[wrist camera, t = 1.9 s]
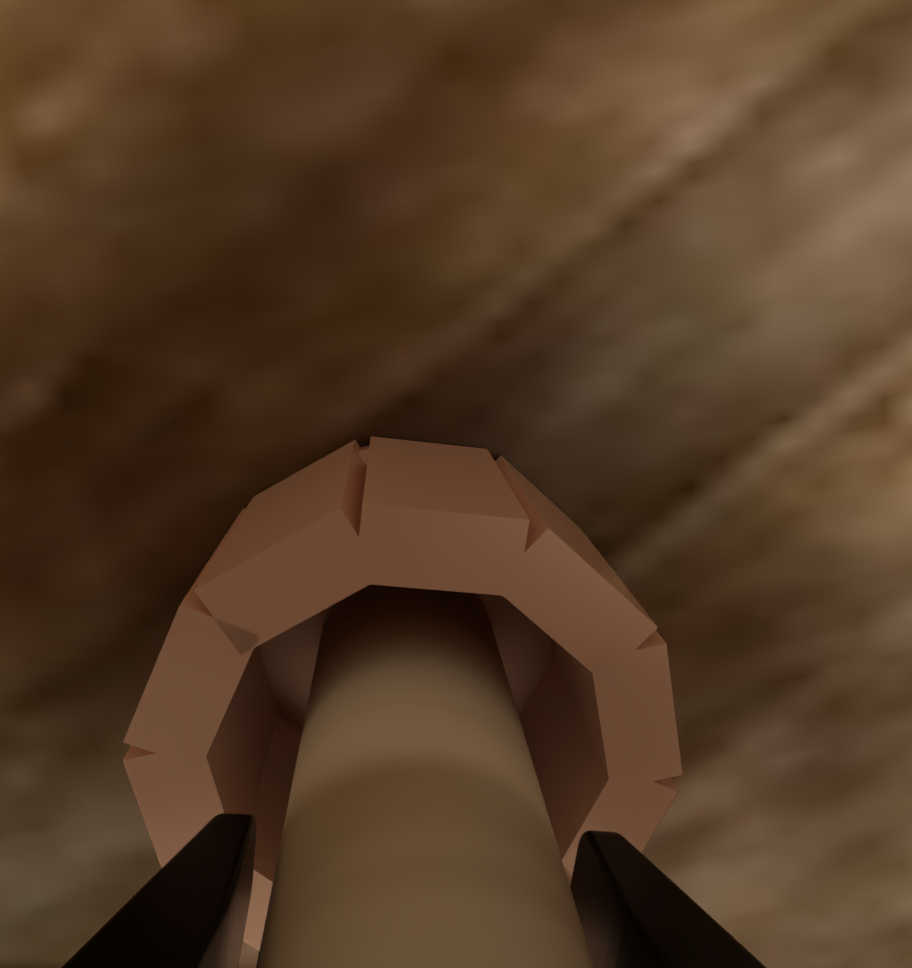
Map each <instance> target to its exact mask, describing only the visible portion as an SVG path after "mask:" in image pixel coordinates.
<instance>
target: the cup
mask: <svg viewBox="0 0 912 968" xmlns="http://www.w3.org/2000/svg"><path fill="white" fill-rule="evenodd" d="M370 584H372V585H384V586H395V587H407V588H419V589H431V590H443V591H454V592H466V593H476V594H477V595H478V597H479V598H480V599H481V601H482V603H483V605H484V607H485V608H486V611H487V613H488V616H489V619H490V622H491V625H492V629H493V632H494V635H495V639H496V642H497V645H498V649H499V652H500V655H501V659H502V662H503V665H504V669H505V672H506V675H507V679H508V682H509V685H510V689H511V692H512V695H513V699H514V702H515V705H516V709H517V712H518V715H519V719H520V722H521V725H522V729H523V732H524V735H525V739H526V742H527V745H528V749H529V752H530V755H531V759H532V762H533V765H534V769H535V772H536V775H537V779H538V782H539V785H540V789H541V792H542V795H543V799H544V802H545V805H546V809H547V812H548V815H549V819H550V822H551V825H552V829H553V832H554V835H555V839H556V842H557V845H558V849H559V852H560V855H561V859H562V862H563V865H564V869H565V872H566V875H567V879H568V882H569V885H570V884H571V879H572V874H573V869H574V864H575V859H576V854H577V849H578V844H579V840H580V838H581V836H582V834H583V833H584V832H586V831H589V830H590V831H611V832H617V833H619V834H621V835H622V836H623V837H625V838H626V839H627V840H628V841H629V842H630V843H631V844H632V845H633V846H634V847H636V848H637V849H638V850H639V851H640V852H641V853H642V851H643V850H644V848H645V846H646V845H647V843H648V841H649V840H650V838H651V836H652V835H653V833H654V831H655V830H656V828H657V826H658V825H659V823H660V822H661V820H662V818H663V817H664V815H665V813H666V812H667V810H668V808H669V807H670V805H671V803H672V802H673V800H674V798H675V797H676V795H677V793H678V792H679V791H678V789H677V788H676V786H675V784H674V782H673V781H672V779H671V777H675V776H680V775H683V774H682V766H681V758H680V750H679V741H678V733H677V725H676V717H675V709H674V701H673V692H672V684H671V676H670V668H669V660H668V651H667V644H666V642H665V641H664V640H663V638H662V637H661V636H660V635H659V633H658V632H657V631H656V629H657V628H658V627H657V625H656V624H655V623H654V622H653V620H652V619H651V618H650V616H649V615H648V614H647V613H646V611H645V610H644V609H643V608H642V606H641V605H640V604H639V602H638V601H637V600H636V599H635V597H634V596H633V595H632V594H631V592H630V591H629V590H628V588H627V587H626V586H625V585H624V583H623V582H622V581H621V580H620V578H619V577H618V576H617V574H616V573H615V572H614V571H613V569H612V568H611V567H610V565H609V564H608V563H607V562H606V560H605V559H604V558H603V557H602V555H601V554H600V553H599V551H598V550H597V549H596V548H595V546H594V545H593V544H592V543H591V541H590V540H589V539H588V537H587V536H586V535H585V534H584V532H583V531H582V530H581V529H580V528H579V527H578V526H577V525H576V524H575V523H574V522H573V521H572V520H571V519H570V518H569V517H568V516H566V515H565V514H564V513H563V512H562V511H561V510H560V509H559V508H558V507H557V506H556V505H555V504H553V503H552V502H551V501H550V500H549V499H548V498H547V497H546V496H545V495H544V494H543V493H542V492H540V491H539V490H538V489H537V488H536V487H535V486H534V485H533V484H532V483H531V482H530V481H529V480H527V479H526V478H525V477H524V476H523V475H522V474H521V473H520V472H519V471H518V470H517V469H515V468H514V467H513V466H512V465H511V464H510V463H509V462H508V461H507V460H506V459H505V458H504V457H502V456H501V455H500V456H499V457H498V458H497V459H496V461H494V459H493V458H492V456H491V454H490V453H489V451H488V449H484V448H475V447H465V446H456V445H447V444H437V443H428V442H419V441H410V440H400V439H391V438H382V437H372V436H371V438H370V445H368V446H363V447H360V446H359V444H358V443H357V441H356V439H355V440H353V441H352V442H350V443H348V444H346V445H345V446H343V447H341V448H339V449H337V450H336V451H334V452H332V453H330V454H329V455H327V456H325V457H323V458H321V459H320V460H318V461H316V462H314V463H313V464H311V465H309V466H307V467H305V468H304V469H302V470H300V471H298V472H296V473H295V474H293V475H291V476H289V477H288V478H286V479H284V480H282V481H280V482H279V483H277V484H275V485H273V486H272V487H270V488H268V489H266V490H264V491H263V492H261V493H259V494H257V495H255V496H254V497H253V498H252V500H251V501H250V503H249V504H248V506H247V507H246V508H243V509H242V511H241V512H240V514H239V515H238V517H237V518H236V520H235V521H234V523H233V524H232V526H231V527H230V529H229V530H228V532H227V534H226V535H225V537H224V538H223V540H222V541H221V543H220V544H219V546H218V547H217V549H216V550H215V552H214V553H213V555H212V556H211V558H210V560H209V561H208V563H207V564H206V566H205V567H204V569H203V570H202V572H201V573H200V575H199V576H198V578H197V579H196V581H195V582H194V584H193V585H192V587H191V589H190V590H189V592H188V593H187V595H186V596H185V598H184V599H183V601H182V602H181V604H180V605H179V608H178V610H177V613H176V615H175V618H174V620H173V622H172V625H171V627H170V630H169V632H168V634H167V637H166V639H165V642H164V644H163V647H162V649H161V651H160V654H159V656H158V659H157V661H156V663H155V666H154V668H153V671H152V673H151V676H150V678H149V680H148V683H147V685H146V688H145V690H144V692H143V695H142V697H141V700H140V702H139V705H138V707H137V709H136V712H135V714H134V717H133V719H132V722H131V724H130V726H129V729H128V731H127V734H126V736H125V738H124V741H123V743H126V744H129V745H131V746H130V748H129V750H128V752H127V754H126V755H125V757H124V759H123V764H124V766H125V769H126V772H127V775H128V777H129V780H130V783H131V786H132V788H133V791H134V794H135V797H136V799H137V802H138V805H139V808H140V810H141V813H142V816H143V819H144V821H145V824H146V827H147V830H148V832H149V835H150V838H151V841H152V843H153V846H154V849H155V852H156V855H157V857H158V860H159V863H160V866H161V868H163V867H164V866H165V865H166V864H167V863H168V862H169V861H170V860H171V859H172V858H173V857H174V856H175V855H176V854H177V853H178V852H179V851H180V850H181V849H182V848H183V847H184V846H185V845H186V844H187V843H188V842H189V841H190V840H191V839H192V838H193V837H194V836H195V835H196V834H197V833H198V832H199V831H200V830H201V829H202V828H203V827H204V826H205V825H206V824H207V823H208V822H209V821H210V820H211V819H212V818H213V817H214V816H216V815H218V814H221V813H230V814H250V815H253V816H254V817H255V819H256V842H255V856H254V870H253V883H252V891H251V898H250V904H249V909H248V915H247V920H246V926H245V931H244V937H243V942H244V943H246V944H247V945H249V946H251V947H252V948H254V949H255V950H257V951H260V946H261V941H262V936H263V931H264V925H265V920H266V915H267V910H268V905H269V900H270V895H271V890H272V884H273V879H274V874H275V869H276V864H277V859H278V854H279V848H280V843H281V838H282V833H283V828H284V823H285V818H286V813H287V807H288V802H289V797H290V792H291V787H292V782H293V777H294V771H295V766H296V761H297V756H298V751H299V746H300V741H301V736H302V730H303V725H304V720H305V715H306V710H307V705H308V700H309V695H310V689H311V684H312V679H313V674H314V669H315V664H316V659H317V653H318V648H319V643H320V638H321V633H322V628H323V624H324V621H325V618H326V615H327V613H328V611H329V609H330V607H331V606H332V605H333V604H335V603H337V602H339V601H341V600H343V599H344V598H346V597H348V596H350V595H352V594H353V593H355V592H357V591H359V590H361V589H363V588H364V587H366V586H368V585H370Z"/></svg>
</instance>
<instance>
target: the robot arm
mask: <svg viewBox="0 0 912 968" xmlns="http://www.w3.org/2000/svg"><path fill="white" fill-rule="evenodd" d="M255 842H256V819H255V817H254V816H253V815H250V814H230V813H221V814H218V815H216V816H214V817H213V818H212V819H211V820H210V821H209V822H208V823H207V824H206V825H205V826H204V827H203V828H202V829H201V830H200V831H199V832H198V833H197V834H196V835H195V836H194V837H193V838H192V839H191V840H190V841H189V842H188V843H187V844H186V845H185V846H184V847H183V848H182V849H181V850H180V851H179V852H178V853H177V854H176V855H175V856H174V857H173V858H172V859H171V860H170V861H169V862H168V863H167V864H166V865H165V866H164V867H163V868H162V869H161V870H160V871H159V872H158V873H157V874H156V875H155V876H154V877H153V878H152V879H151V880H149V881H148V882H147V883H146V884H145V885H144V886H143V887H142V888H141V889H140V890H139V891H138V892H137V893H136V894H135V895H134V896H133V897H132V898H131V899H130V900H129V901H128V902H127V903H126V904H125V905H124V906H123V907H122V908H121V909H120V910H119V911H118V912H117V913H116V914H115V915H114V916H113V917H112V918H111V919H110V920H109V921H108V922H107V923H106V924H105V925H104V926H103V927H102V928H101V929H100V930H99V931H98V932H97V933H96V934H95V935H94V936H93V937H92V938H91V939H90V940H89V941H88V942H87V943H86V944H85V945H84V946H83V947H82V948H81V949H80V950H79V951H78V952H77V953H76V954H75V955H74V956H73V957H72V958H71V959H70V960H69V961H68V962H67V963H66V964H65V965H64V966H62V967H61V968H238V964H239V958H240V953H241V948H242V942H243V937H244V931H245V926H246V920H247V915H248V909H249V904H250V898H251V891H252V883H253V870H254V856H255ZM570 889H571V892H572V895H573V899H574V902H575V905H576V909H577V912H578V915H579V919H580V922H581V925H582V929H583V932H584V935H585V939H586V942H587V945H588V949H589V952H590V955H591V959H592V962H593V965H594V968H766V967H765V966H764V965H763V964H762V963H761V962H760V961H759V960H757V959H756V958H755V957H754V956H753V955H752V954H751V953H750V952H749V951H748V950H747V949H745V948H744V947H743V946H742V945H741V944H740V943H739V942H738V941H737V940H736V939H735V938H734V937H732V936H731V935H730V934H729V933H728V932H727V931H726V930H725V929H724V928H723V927H722V926H720V925H719V924H718V923H717V922H716V921H715V920H714V919H713V918H712V917H711V916H710V915H708V914H707V913H706V912H705V911H704V910H703V909H702V908H701V907H700V906H699V905H698V904H697V903H695V902H694V901H693V900H692V899H691V898H690V897H689V896H688V895H687V894H686V893H685V892H683V891H682V890H681V889H680V888H679V887H678V886H677V885H676V884H675V883H674V882H673V881H671V880H670V879H669V878H668V877H667V876H666V875H665V874H664V873H663V872H662V871H661V870H659V869H658V868H657V867H656V866H655V865H654V864H653V863H652V862H651V861H650V860H649V859H648V858H646V857H645V856H644V855H643V854H642V853H641V852H640V851H639V850H638V849H637V848H636V847H634V846H633V845H632V844H631V843H630V842H629V841H628V840H627V839H626V838H625V837H623V836H622V835H621V834H619V833H617V832H611V831H590V830H589V831H586V832H584V833H583V834H582V836H581V838H580V840H579V844H578V849H577V854H576V859H575V864H574V869H573V874H572V879H571V884H570Z"/></svg>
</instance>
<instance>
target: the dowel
mask: <svg viewBox="0 0 912 968" xmlns="http://www.w3.org/2000/svg"><path fill="white" fill-rule="evenodd" d="M256 968H594V965H593V962H592V959H591V955H590V952H589V949H588V945H587V942H586V939H585V935H584V932H583V929H582V925H581V922H580V919H579V915H578V912H577V909H576V905H575V902H574V899H573V895H572V892H571V889H570V885H569V882H568V879H567V875H566V872H565V869H564V865H563V862H562V859H561V855H560V852H559V849H558V845H557V842H556V839H555V835H554V832H553V829H552V825H551V822H550V819H549V815H548V812H547V809H546V805H545V802H544V799H543V795H542V792H541V789H540V785H539V782H538V779H537V775H536V772H535V769H534V765H533V762H532V759H531V755H530V752H529V749H528V745H527V742H526V739H525V735H524V732H523V729H522V725H521V722H520V719H519V715H518V712H517V709H516V705H515V702H514V699H513V695H512V692H511V689H510V685H509V682H508V679H507V675H506V672H505V669H504V665H503V662H502V659H501V655H500V652H499V649H498V645H497V642H496V639H495V635H494V632H493V629H492V625H491V622H490V619H489V616H488V613H487V611H486V608H485V607H484V605H483V603H482V601H481V599H480V598H479V597H478V595H477V594H476V593H466V592H454V591H443V590H431V589H419V588H407V587H395V586H384V585H372V584H370V585H368V586H366V587H364V588H363V589H361V590H359V591H357V592H355V593H353V594H352V595H350V596H348V597H346V598H344V599H343V600H341V601H339V602H337V603H335V604H333V605H332V606H331V607H330V609H329V611H328V613H327V615H326V618H325V621H324V624H323V628H322V633H321V638H320V643H319V648H318V653H317V659H316V664H315V669H314V674H313V679H312V684H311V689H310V695H309V700H308V705H307V710H306V715H305V720H304V725H303V730H302V736H301V741H300V746H299V751H298V756H297V761H296V766H295V771H294V777H293V782H292V787H291V792H290V797H289V802H288V807H287V813H286V818H285V823H284V828H283V833H282V838H281V843H280V848H279V854H278V859H277V864H276V869H275V874H274V879H273V884H272V890H271V895H270V900H269V905H268V910H267V915H266V920H265V925H264V931H263V936H262V941H261V946H260V951H259V956H258V961H257V966H256Z"/></svg>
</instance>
